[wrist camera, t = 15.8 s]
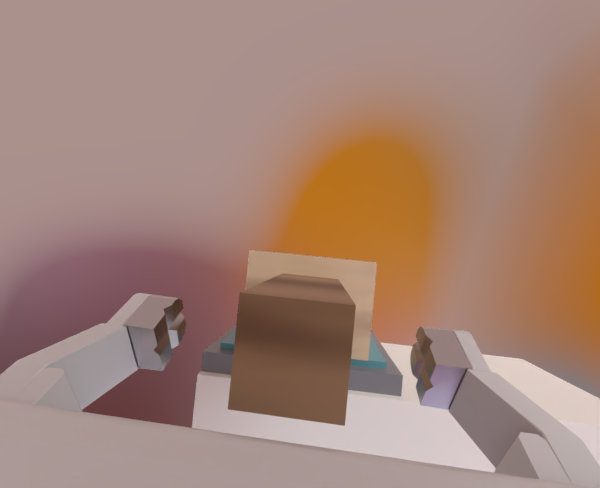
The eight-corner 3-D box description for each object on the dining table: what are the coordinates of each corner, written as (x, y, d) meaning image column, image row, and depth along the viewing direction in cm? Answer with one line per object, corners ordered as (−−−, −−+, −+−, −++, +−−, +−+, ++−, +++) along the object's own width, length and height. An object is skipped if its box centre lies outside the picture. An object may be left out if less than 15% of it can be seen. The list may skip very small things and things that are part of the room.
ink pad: (370, 342, 29) (371, 325, 29) (401, 396, 18) (403, 368, 18) (244, 328, 30) (246, 311, 30) (200, 371, 19) (203, 344, 19)
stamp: (420, 481, 9) (438, 270, 9) (151, 440, 9) (172, 244, 10) (354, 329, 26) (361, 260, 27) (263, 319, 27) (270, 251, 27)
